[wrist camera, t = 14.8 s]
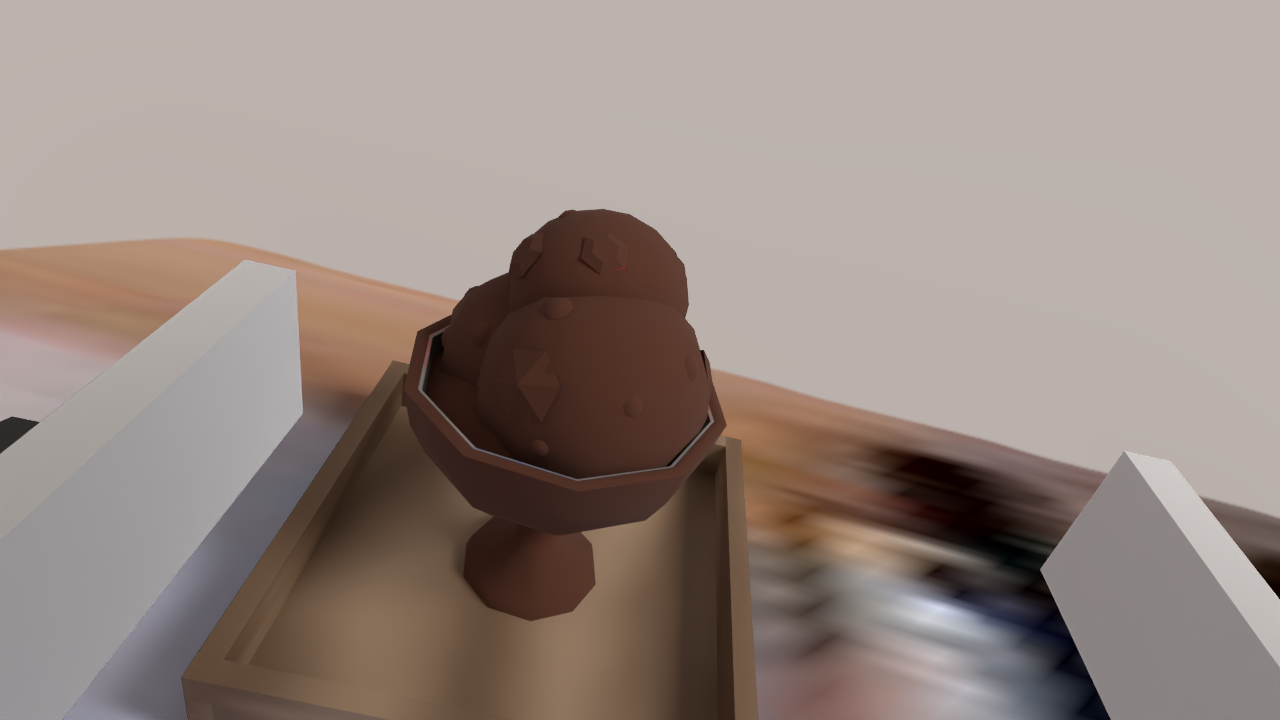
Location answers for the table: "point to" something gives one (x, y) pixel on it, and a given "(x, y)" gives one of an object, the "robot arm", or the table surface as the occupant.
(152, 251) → the table surface
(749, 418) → the table surface
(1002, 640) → the table surface
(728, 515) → the light brown wooden tray
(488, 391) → the ice cream bowl
